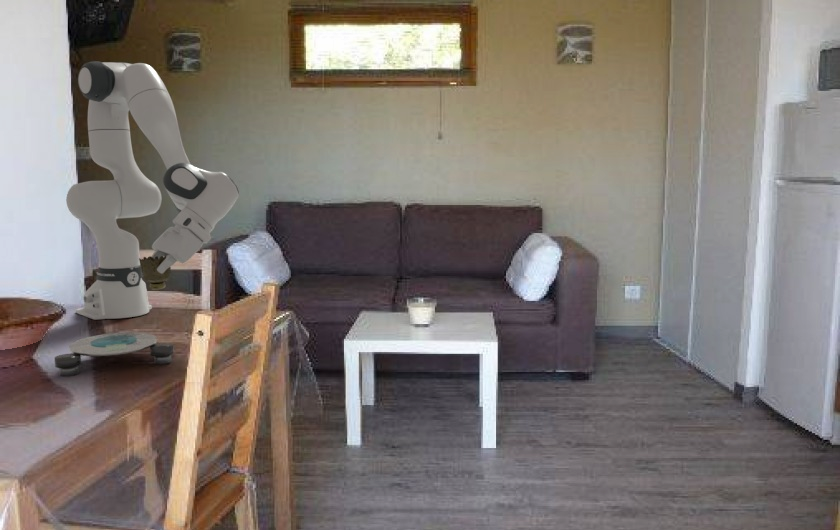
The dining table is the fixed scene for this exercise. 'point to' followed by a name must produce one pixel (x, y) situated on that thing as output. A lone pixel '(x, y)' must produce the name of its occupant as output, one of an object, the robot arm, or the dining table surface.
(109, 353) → the leveling base
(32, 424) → the dining table surface
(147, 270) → the cup
